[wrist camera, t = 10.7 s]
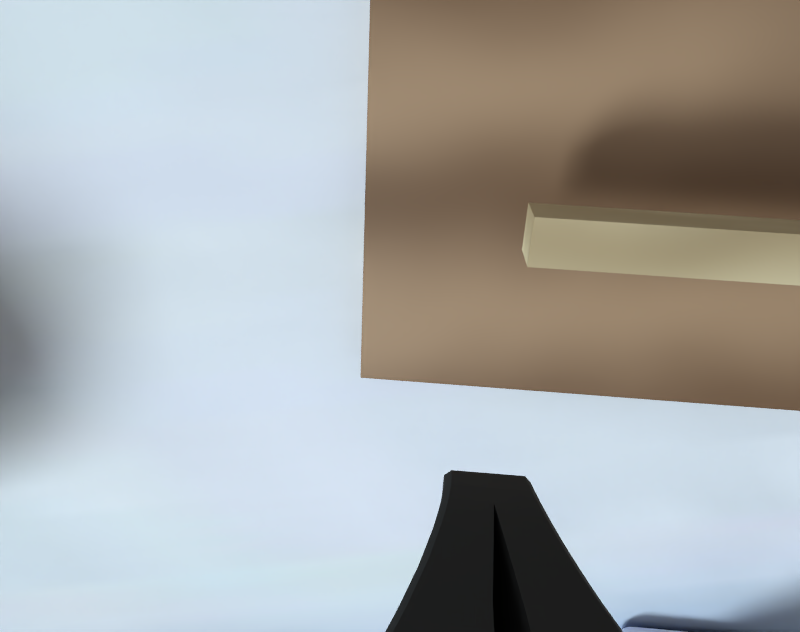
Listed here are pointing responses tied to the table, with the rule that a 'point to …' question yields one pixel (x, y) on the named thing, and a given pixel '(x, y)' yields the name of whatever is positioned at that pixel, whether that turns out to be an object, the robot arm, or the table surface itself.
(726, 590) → the table surface
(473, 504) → the robot arm
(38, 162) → the table surface
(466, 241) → the board
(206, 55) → the table surface
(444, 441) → the table surface
